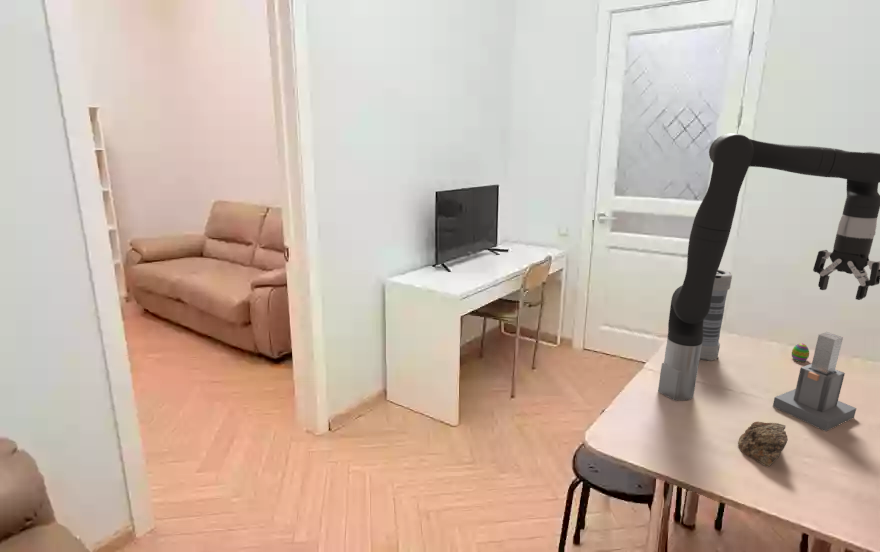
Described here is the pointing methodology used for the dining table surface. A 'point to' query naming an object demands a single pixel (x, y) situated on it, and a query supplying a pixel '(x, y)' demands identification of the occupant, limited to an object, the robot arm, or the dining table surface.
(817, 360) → the column
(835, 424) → the stand
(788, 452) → the dining table surface
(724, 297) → the canister
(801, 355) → the egg
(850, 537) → the dining table surface
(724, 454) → the dining table surface
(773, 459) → the rock
